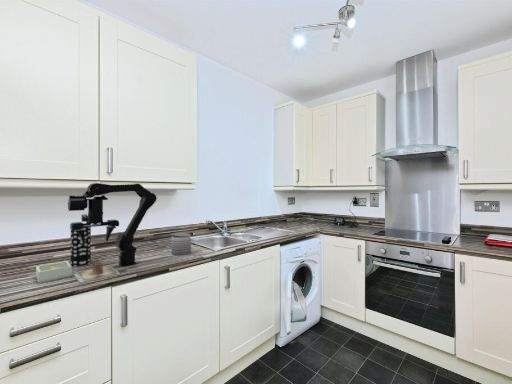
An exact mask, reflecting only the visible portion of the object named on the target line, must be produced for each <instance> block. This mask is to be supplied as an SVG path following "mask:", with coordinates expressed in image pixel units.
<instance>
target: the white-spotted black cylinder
mask: <svg viewBox="0 0 512 384" xmlns="http://www.w3.org/2000/svg"><path fill="white" fill-rule="evenodd" d="M82 229H83V230H84V237H85V244H83V242H82V240H81V237H80V235H79V234H78V232H75V231H74V230H71V229H70V265H71V266H72V267H85V266H87V265H90V264H91V263H92V260H91V259H92V255H91V254H92V250H91V249H92V248H91V247H92V245H91V244H92V243H91V241H92V237H91V236H92V231H91V230H92V227H83V228H82Z"/></svg>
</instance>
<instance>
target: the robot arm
mask: <svg viewBox="0 0 512 384" xmlns="http://www.w3.org/2000/svg"><path fill="white" fill-rule="evenodd" d="M123 192H134V193H136V195H137V196H138V197H139V198H140V200H139V205H138V207H137V210H136V212H135V213H134V215H133V217H132V219H131V220H130V222H129V223H128V226H127V227H126V229H125V230H124V232H122V233H121V232H119V233H118V235H117V237H116V238H115V240H114V241H115V242H114V244H115V247H116V248H117V249H119V255H118V264H119V265H121V267H126V266H130V265H131V266H132V265H135V264H137V262H136V251H137V248H136V247H135V246H134V245H133V243H134V239H135V238H134V236H135V234H136V232H137V230H138V228H139V226H140V225H141V222H142V221H143V219H144V217H145V215H146V214H147V212H148V210H149V209H151V208H152V207H153V205H154V204H155V203H156V202H157V199H158V197H157V195H156V194H155V193H154V192H151V191H150V190H148V189H147V188H145V187H144V186H143V185H142V184H140V183H132V184H130V183H129V184H128V183H127V184H108V183H100V182H99V183H98V182H95V183H90V184H89V185H88V186H87V189H86V191H85V192H84V193H83V194H82V195H68V202H67V210H68V212H72V211H77V212H78V211H85V209H87V210H88V211H87V214H81V221H78V222H77V221H76V222H71V223H70V224H69V229H70V231H71V230H74V231H75V232H78V234H79V235H80V237H81V240H82V242H83V244H85V237H84V230H83V229H82V228H83V227H91V228H92V227H103V226H104V227H105V228H106V233H105V242H108V241H109V238H110V237H111V234H112V232H113V231H114V229H117V227H119V226H120V221H119V220H118V219H107V221H104V210H103V209H104V201H107V200H109V199H108V197H106V196H105V195H106V194H110V193H123ZM85 222H86V223H85Z"/></svg>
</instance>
